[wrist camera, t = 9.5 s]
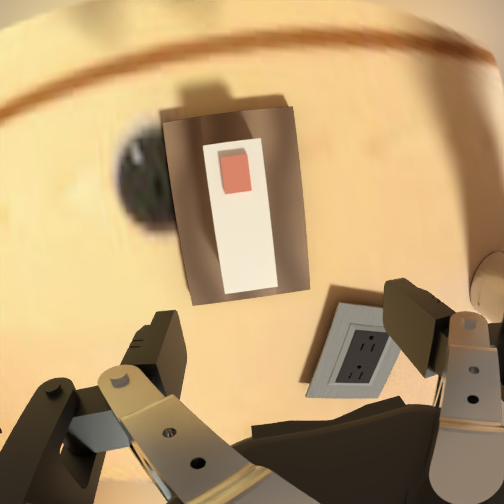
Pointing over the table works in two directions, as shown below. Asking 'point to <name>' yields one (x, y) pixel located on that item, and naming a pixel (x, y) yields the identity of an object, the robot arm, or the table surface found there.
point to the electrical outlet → (354, 355)
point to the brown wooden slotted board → (199, 206)
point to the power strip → (241, 214)
